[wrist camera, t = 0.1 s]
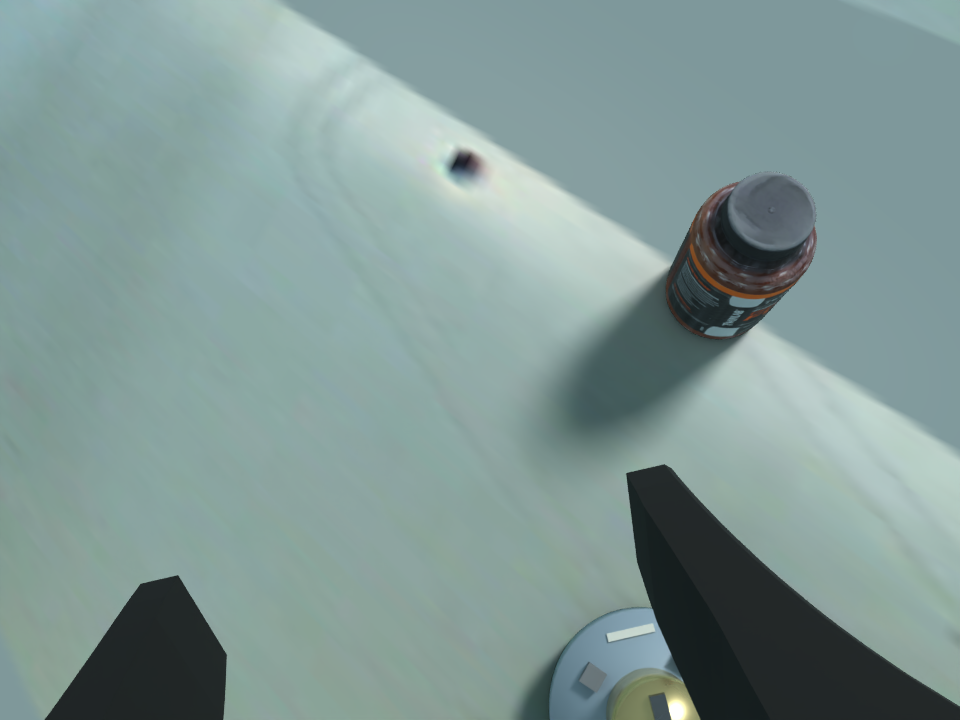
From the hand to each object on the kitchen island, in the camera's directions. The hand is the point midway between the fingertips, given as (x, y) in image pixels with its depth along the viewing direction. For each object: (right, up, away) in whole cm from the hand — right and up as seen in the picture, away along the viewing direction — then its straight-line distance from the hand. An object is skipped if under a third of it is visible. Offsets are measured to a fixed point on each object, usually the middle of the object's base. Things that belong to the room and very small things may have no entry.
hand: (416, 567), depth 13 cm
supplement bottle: (+15, +7, +34) cm, 38 cm away
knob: (+9, -14, +26) cm, 31 cm away
